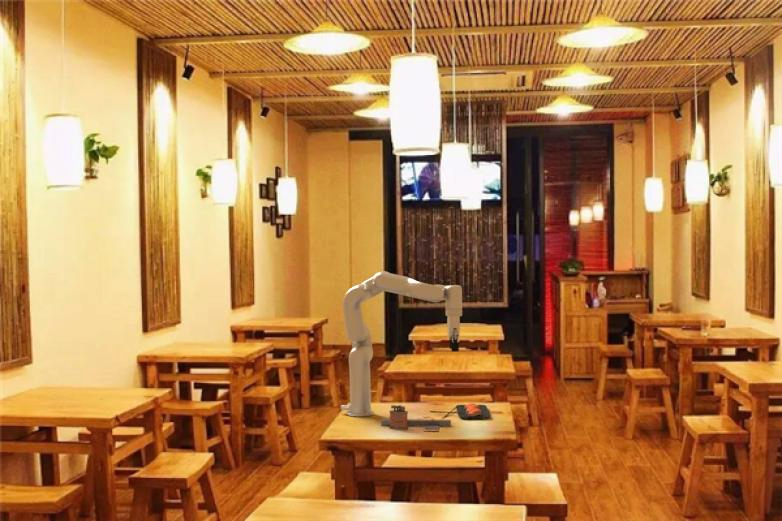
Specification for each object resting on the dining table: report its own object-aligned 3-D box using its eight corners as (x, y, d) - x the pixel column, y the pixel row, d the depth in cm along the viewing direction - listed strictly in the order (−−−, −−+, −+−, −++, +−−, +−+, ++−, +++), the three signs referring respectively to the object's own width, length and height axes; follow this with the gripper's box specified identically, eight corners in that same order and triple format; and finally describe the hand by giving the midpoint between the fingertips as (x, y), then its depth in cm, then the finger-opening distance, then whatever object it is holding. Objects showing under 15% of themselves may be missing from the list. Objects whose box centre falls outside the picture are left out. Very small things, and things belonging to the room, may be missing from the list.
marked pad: (423, 431, 359) (423, 430, 359) (425, 426, 370) (425, 424, 370) (438, 431, 358) (438, 430, 358) (439, 426, 369) (439, 425, 369)
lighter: (408, 428, 366) (408, 405, 366) (406, 430, 363) (406, 406, 362) (391, 427, 368) (390, 404, 368) (388, 428, 365) (388, 405, 365)
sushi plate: (491, 421, 381) (491, 412, 381) (424, 421, 382) (424, 412, 382) (485, 408, 410) (485, 400, 410) (423, 408, 411) (423, 400, 411)
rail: (381, 425, 371) (381, 418, 371) (381, 424, 374) (381, 417, 374) (450, 426, 369) (450, 419, 369) (450, 425, 371) (450, 418, 371)
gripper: (443, 310, 398) (444, 347, 398) (447, 314, 380) (447, 352, 381) (460, 310, 398) (460, 347, 398) (464, 313, 381) (464, 352, 381)
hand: (454, 350), depth 390 cm, fingers open, 9 cm apart
